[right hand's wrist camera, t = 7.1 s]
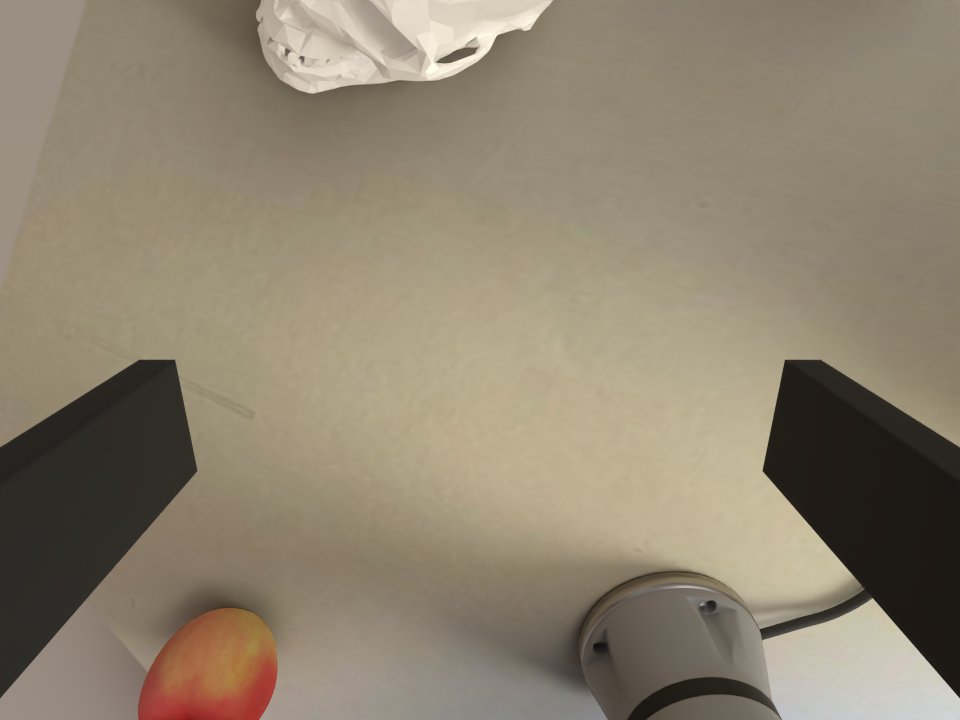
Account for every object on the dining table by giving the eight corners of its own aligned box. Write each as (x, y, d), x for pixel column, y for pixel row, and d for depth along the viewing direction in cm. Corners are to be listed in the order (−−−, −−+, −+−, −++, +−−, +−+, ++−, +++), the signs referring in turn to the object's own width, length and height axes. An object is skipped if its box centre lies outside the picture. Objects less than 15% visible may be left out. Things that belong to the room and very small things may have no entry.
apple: (313, 651, 51) (275, 766, 41) (217, 677, 52) (159, 795, 42) (264, 568, 47) (210, 673, 38) (163, 598, 48) (87, 706, 39)
